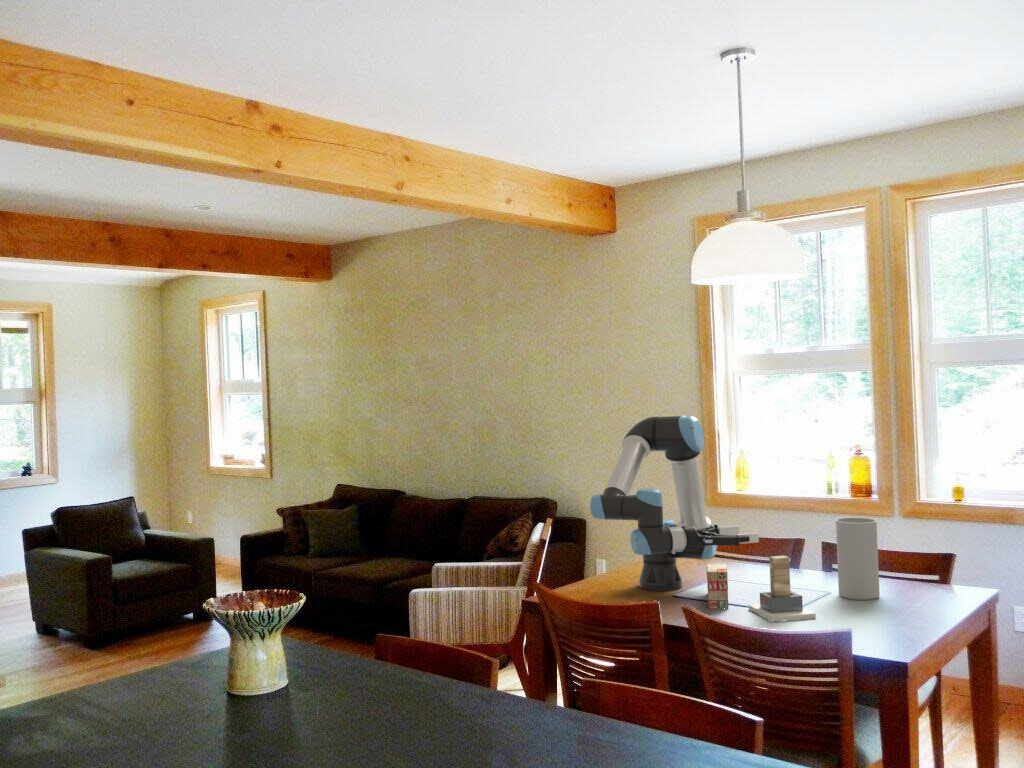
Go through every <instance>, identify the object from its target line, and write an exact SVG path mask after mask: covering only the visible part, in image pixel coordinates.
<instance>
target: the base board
mask: <svg viewBox="0 0 1024 768" xmlns="http://www.w3.org/2000/svg"><path fill="white" fill-rule="evenodd" d="M749 609H750V610H749ZM748 610H749V611H751V612H752V611H753V613H754V612H755V613H754V614H756V613H757V614H756V615H758V614H759V615H758V616H760V615H761V616H760V617H762V616H763V617H762V618H764V617H765V618H766V619H765V618H764V619H765V620H767V619H768V621H769V620H770V621H769V622H771V621H780V622H784V621H783V620H792V621H799V620H798V619H803V620H811V619H812V618H815V619H816V618H817V615H816V614H817V613H816V612H814V611H812V610H809V609H807V608H805V607H803V611H794V612H783V613H770V612H768V611H767V610H765V609H763V608H761V607H760V603H753V604H748ZM812 620H813V619H812Z"/></svg>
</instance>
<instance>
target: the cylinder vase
mask: <svg viewBox="0 0 1024 768" xmlns="http://www.w3.org/2000/svg"><path fill="white" fill-rule="evenodd" d="M877 524H878V522H877V519H875V518H871V517H852V516H851V517H840V518H836V519H835V533H836V537H835V538H836V555H837V556H836V559H837V561H836V562H837V579H838V580H837V582H838V583H837V584H838V595H839V596H840V597H842V598H843V599H847V598H848V600H854V601H871V600H877V599H878V598H879V597H880V596H881V595H880V593H881V592H880V574H879V573H880V572H879V571H880V570H879V551H878V550H879V548H878V547H879V546H878V525H877Z"/></svg>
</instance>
